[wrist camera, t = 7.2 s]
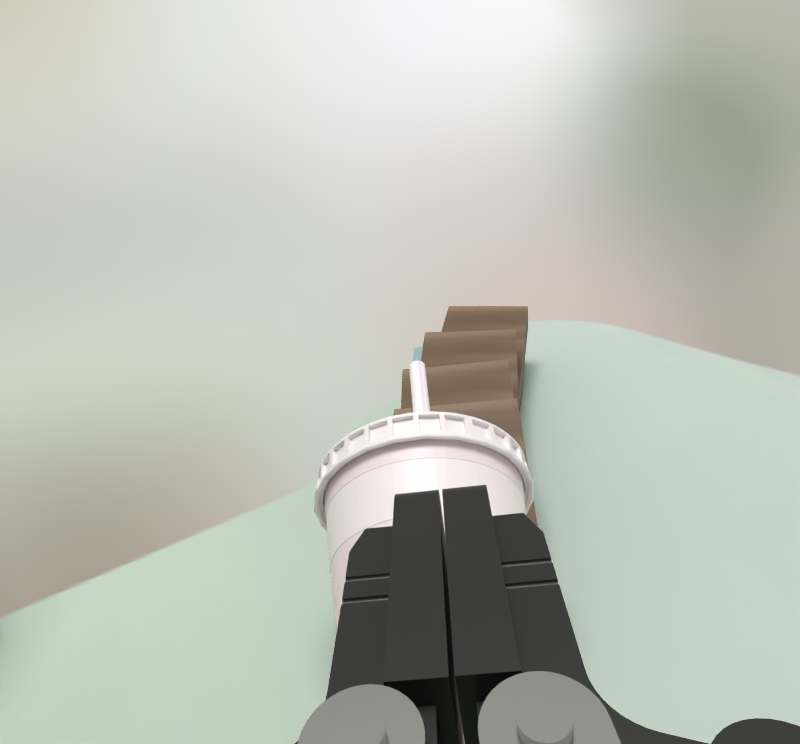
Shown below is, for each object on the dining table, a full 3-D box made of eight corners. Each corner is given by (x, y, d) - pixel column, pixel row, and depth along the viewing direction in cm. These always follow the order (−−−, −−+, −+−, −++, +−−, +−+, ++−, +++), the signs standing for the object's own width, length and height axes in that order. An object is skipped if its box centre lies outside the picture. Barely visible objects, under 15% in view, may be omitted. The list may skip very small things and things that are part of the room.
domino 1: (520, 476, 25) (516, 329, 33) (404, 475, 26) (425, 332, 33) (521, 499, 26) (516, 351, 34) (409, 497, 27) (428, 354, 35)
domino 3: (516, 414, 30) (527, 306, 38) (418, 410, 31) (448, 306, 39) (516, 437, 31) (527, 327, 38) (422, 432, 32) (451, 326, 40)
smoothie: (315, 892, 8) (339, 290, 18) (270, 928, 13) (309, 424, 23) (710, 877, 10) (531, 323, 20) (547, 914, 14) (469, 444, 24)
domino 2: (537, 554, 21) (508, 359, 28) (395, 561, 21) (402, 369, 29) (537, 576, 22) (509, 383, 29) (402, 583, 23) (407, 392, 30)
